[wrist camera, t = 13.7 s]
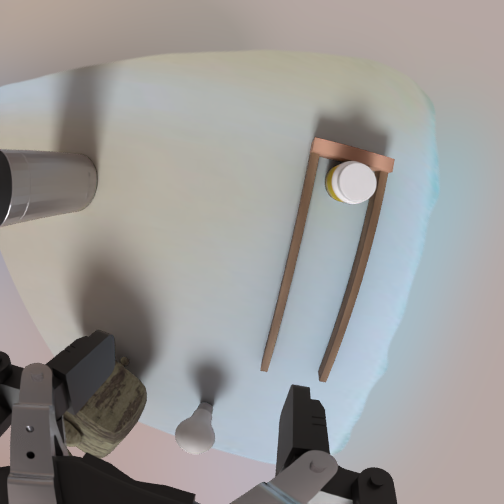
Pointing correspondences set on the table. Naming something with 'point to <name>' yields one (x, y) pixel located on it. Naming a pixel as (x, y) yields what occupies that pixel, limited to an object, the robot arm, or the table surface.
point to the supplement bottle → (350, 182)
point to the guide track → (381, 168)
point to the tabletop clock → (107, 413)
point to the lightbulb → (196, 431)
